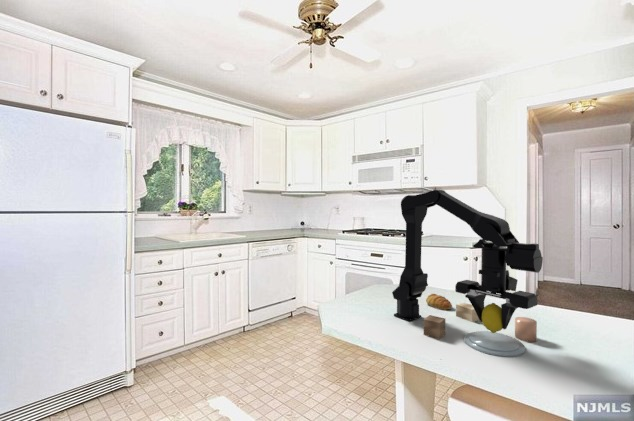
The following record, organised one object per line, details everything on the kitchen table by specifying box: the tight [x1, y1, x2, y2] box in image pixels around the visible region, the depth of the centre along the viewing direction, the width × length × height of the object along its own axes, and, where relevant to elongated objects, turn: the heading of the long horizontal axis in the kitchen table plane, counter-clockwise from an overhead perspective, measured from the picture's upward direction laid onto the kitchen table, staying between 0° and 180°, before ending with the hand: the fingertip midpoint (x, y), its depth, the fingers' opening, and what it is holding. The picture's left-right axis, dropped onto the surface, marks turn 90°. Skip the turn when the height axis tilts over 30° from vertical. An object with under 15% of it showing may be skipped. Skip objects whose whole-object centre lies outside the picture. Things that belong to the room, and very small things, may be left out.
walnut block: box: [423, 314, 446, 340], centre depth 93 cm, size 4×4×4 cm
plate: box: [463, 330, 526, 358], centre depth 86 cm, size 14×14×1 cm
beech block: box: [455, 302, 480, 323], centre depth 106 cm, size 6×4×4 cm, turn 27°
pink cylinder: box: [514, 316, 538, 343], centre depth 90 cm, size 5×5×5 cm
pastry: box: [425, 293, 453, 311], centre depth 118 cm, size 9×7×4 cm
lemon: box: [481, 302, 504, 333], centre depth 86 cm, size 6×6×8 cm
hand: (493, 325), depth 86 cm, fingers closed on lemon, 5 cm apart
